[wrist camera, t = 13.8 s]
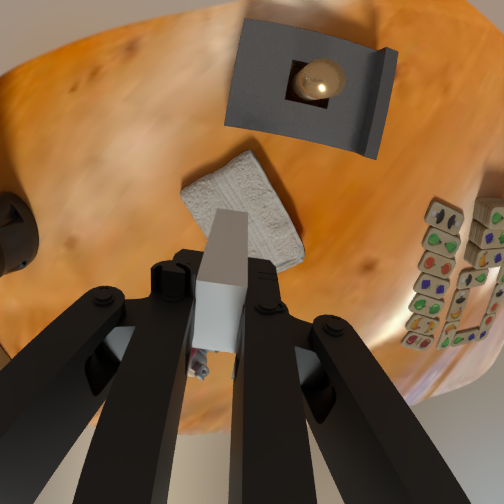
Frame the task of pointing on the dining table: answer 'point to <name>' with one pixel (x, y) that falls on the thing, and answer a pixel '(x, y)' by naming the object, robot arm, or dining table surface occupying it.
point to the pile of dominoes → (442, 264)
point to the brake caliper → (198, 363)
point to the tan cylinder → (318, 80)
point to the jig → (332, 109)
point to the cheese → (3, 358)
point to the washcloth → (247, 209)
